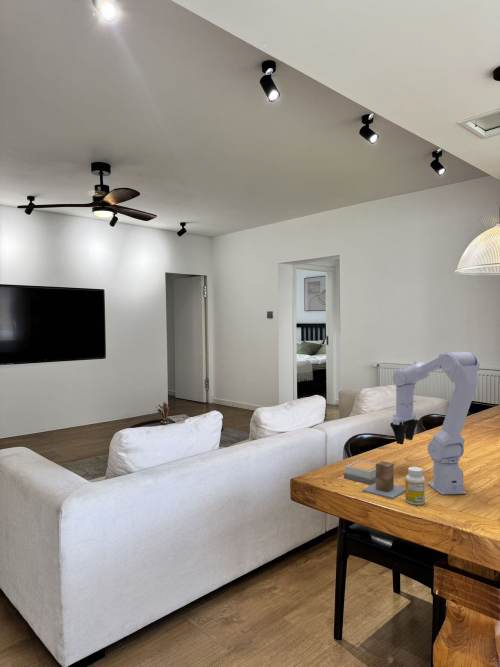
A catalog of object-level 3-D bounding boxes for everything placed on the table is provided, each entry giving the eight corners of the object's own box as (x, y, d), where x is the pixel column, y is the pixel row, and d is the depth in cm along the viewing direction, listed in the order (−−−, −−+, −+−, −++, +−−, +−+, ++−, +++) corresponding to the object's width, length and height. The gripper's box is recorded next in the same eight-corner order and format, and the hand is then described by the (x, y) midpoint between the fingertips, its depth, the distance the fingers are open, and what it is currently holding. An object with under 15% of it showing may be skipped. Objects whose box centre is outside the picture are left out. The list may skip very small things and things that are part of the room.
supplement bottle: (409, 496, 141) (409, 464, 141) (427, 501, 137) (427, 468, 137) (402, 502, 137) (402, 469, 136) (421, 506, 133) (421, 472, 133)
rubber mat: (407, 490, 146) (407, 488, 146) (393, 499, 139) (393, 497, 139) (377, 482, 153) (377, 481, 153) (362, 491, 146) (362, 489, 146)
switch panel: (384, 476, 159) (384, 465, 159) (370, 484, 151) (370, 472, 151) (358, 470, 166) (358, 459, 166) (343, 477, 158) (343, 466, 158)
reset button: (378, 471, 159) (378, 465, 159) (368, 476, 154) (368, 470, 154) (360, 467, 163) (360, 461, 163) (349, 471, 158) (349, 465, 158)
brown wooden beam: (393, 488, 146) (393, 463, 146) (387, 492, 143) (387, 466, 143) (381, 485, 149) (381, 460, 149) (375, 489, 146) (375, 463, 146)
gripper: (402, 399, 173) (402, 436, 173) (384, 404, 162) (384, 443, 162) (421, 401, 168) (421, 439, 168) (404, 407, 157) (404, 447, 158)
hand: (404, 441), depth 165 cm, fingers open, 7 cm apart
